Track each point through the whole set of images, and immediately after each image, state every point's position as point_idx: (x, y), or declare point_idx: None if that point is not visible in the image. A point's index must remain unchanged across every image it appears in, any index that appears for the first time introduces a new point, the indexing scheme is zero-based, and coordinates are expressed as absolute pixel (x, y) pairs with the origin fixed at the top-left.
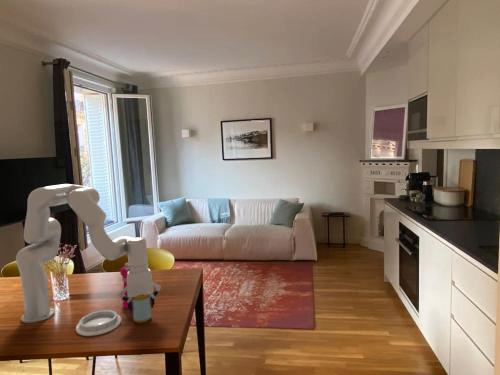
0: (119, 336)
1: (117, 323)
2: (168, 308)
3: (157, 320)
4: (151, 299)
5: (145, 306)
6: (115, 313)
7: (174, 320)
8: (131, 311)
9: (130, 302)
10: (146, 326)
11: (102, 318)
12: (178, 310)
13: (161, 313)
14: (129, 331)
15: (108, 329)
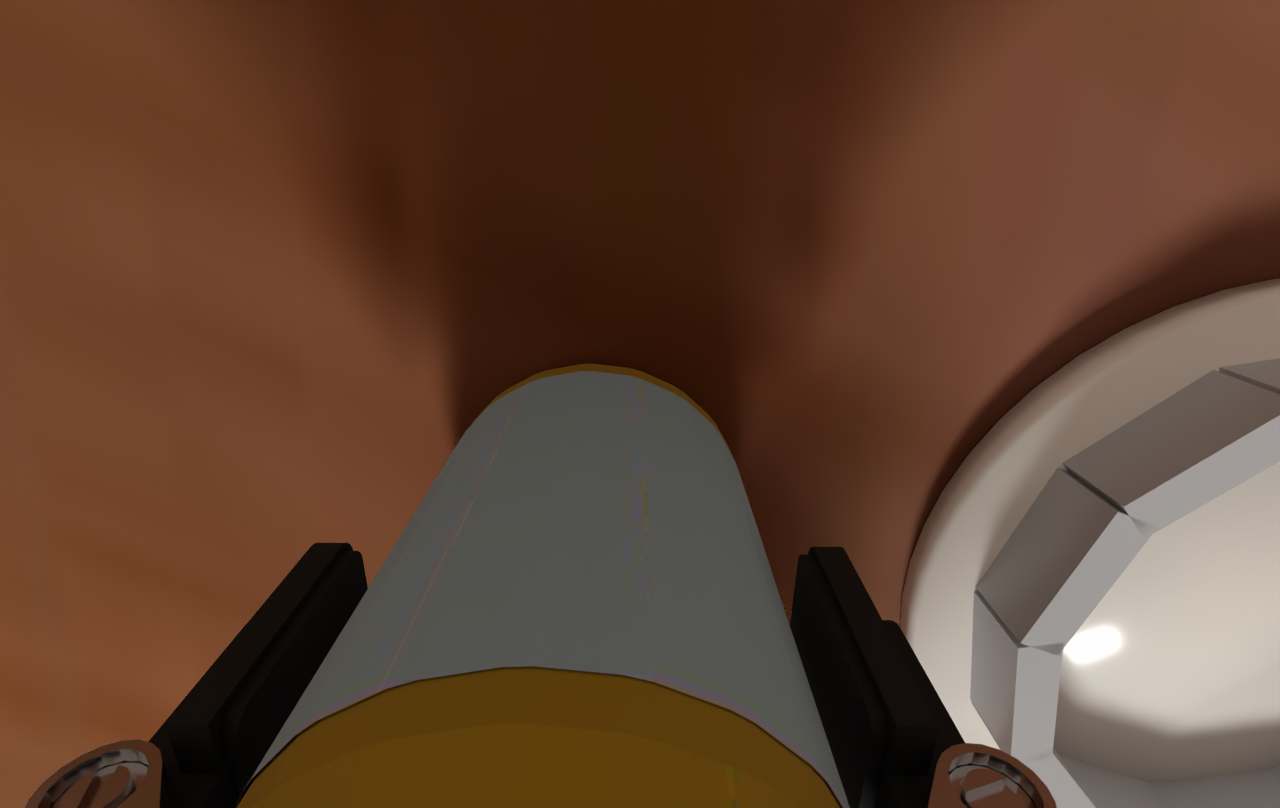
0: (1062, 20)
1: (1013, 465)
2: (194, 665)
3: (351, 346)
4: (215, 712)
5: (466, 513)
6: (1032, 710)
7: (24, 200)
8: (819, 550)
9: (905, 756)
10: (548, 201)
11: (1158, 712)
12: (13, 543)
13: (295, 558)
14: (858, 145)
15: (1204, 315)
